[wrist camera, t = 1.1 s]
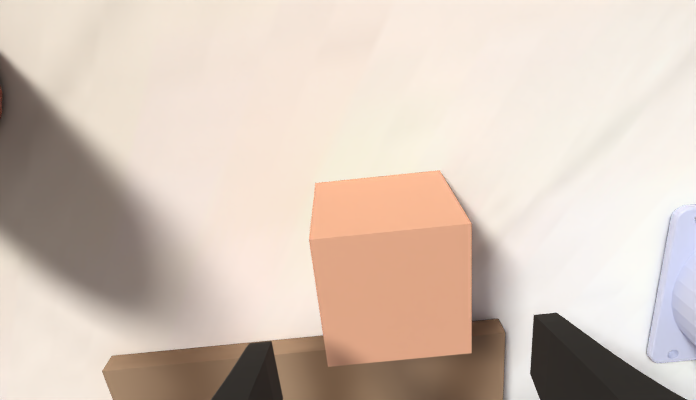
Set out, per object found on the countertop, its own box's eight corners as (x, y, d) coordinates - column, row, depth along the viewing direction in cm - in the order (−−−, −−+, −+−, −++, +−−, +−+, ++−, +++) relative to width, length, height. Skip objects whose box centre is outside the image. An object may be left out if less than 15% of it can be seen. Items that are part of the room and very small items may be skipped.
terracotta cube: (439, 169, 19) (471, 223, 15) (442, 276, 21) (471, 353, 17) (315, 182, 19) (308, 239, 15) (329, 287, 21) (328, 366, 17)
